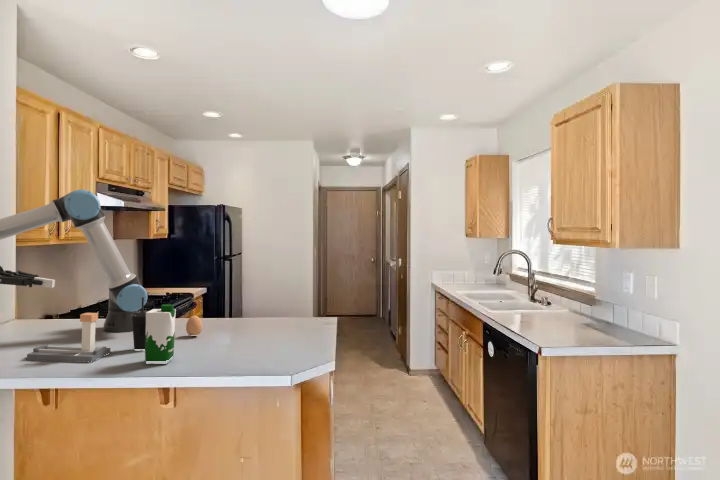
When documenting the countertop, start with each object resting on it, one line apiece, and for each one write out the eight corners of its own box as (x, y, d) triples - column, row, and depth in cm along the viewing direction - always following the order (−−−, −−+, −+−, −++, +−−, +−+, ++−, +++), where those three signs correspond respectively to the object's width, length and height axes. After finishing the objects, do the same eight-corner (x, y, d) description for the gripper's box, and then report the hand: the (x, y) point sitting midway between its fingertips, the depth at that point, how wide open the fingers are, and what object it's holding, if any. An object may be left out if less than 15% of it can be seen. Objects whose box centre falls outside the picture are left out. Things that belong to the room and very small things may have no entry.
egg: (204, 335, 205) (205, 314, 205) (197, 339, 198) (198, 317, 198) (190, 334, 206) (190, 313, 206) (182, 337, 199) (183, 316, 199)
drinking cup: (156, 348, 180) (158, 297, 180) (141, 353, 173) (143, 299, 173) (141, 346, 183) (142, 295, 183) (125, 350, 176) (127, 297, 175)
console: (26, 360, 160) (27, 350, 160) (50, 350, 172) (50, 342, 172) (91, 362, 160) (91, 353, 160) (110, 353, 172) (110, 344, 172)
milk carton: (168, 365, 160) (170, 307, 159) (141, 365, 159) (142, 306, 159) (176, 358, 168) (178, 303, 168) (150, 358, 168) (152, 302, 167)
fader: (79, 352, 164) (80, 314, 163) (85, 349, 168) (86, 312, 167) (90, 352, 164) (91, 315, 163) (96, 349, 168) (98, 313, 167)
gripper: (-3, 280, 173) (63, 290, 175) (-30, 288, 161) (41, 298, 162) (-1, 260, 173) (65, 270, 174) (-28, 266, 160) (43, 276, 161)
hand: (53, 283), depth 168 cm, fingers closed
